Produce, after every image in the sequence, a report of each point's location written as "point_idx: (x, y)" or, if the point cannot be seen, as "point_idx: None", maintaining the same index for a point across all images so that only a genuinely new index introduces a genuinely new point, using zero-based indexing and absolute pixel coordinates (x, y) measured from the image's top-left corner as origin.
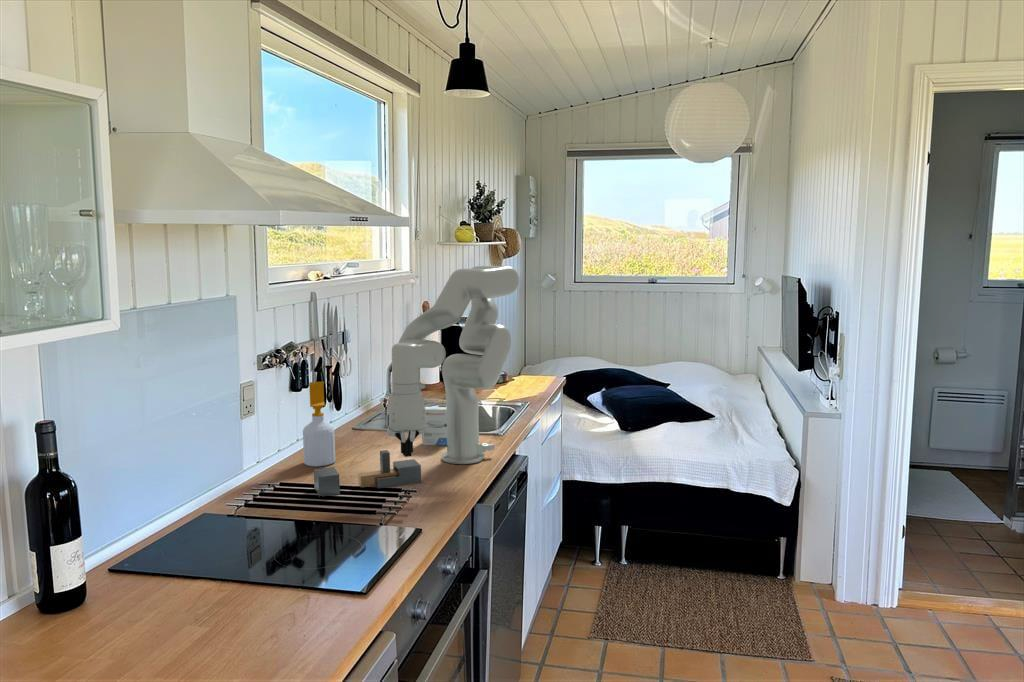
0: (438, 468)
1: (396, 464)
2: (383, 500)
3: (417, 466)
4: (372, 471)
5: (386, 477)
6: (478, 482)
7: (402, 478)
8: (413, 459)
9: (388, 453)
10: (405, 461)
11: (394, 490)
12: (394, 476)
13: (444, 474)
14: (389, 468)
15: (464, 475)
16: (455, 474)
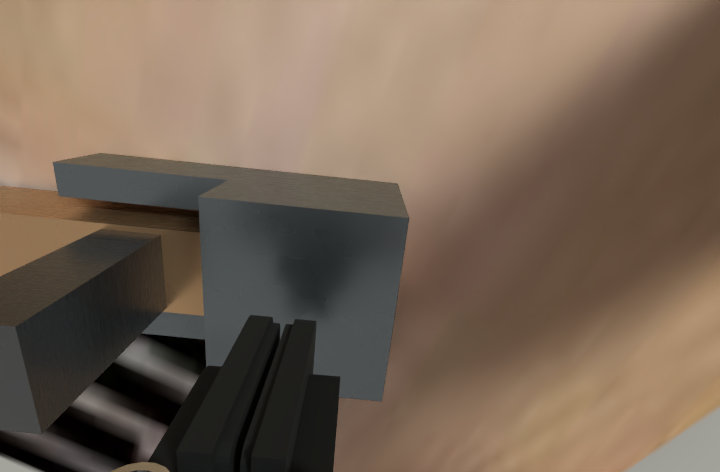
0: (632, 99)
1: (209, 292)
2: (125, 454)
3: (355, 393)
4: (36, 218)
5: None
6: (634, 452)
7: None
8: (398, 228)
9: (34, 425)
10: (308, 248)
11: (203, 365)
12: (202, 321)
13: (578, 252)
14: (144, 324)
15: (661, 327)
16: (632, 285)
